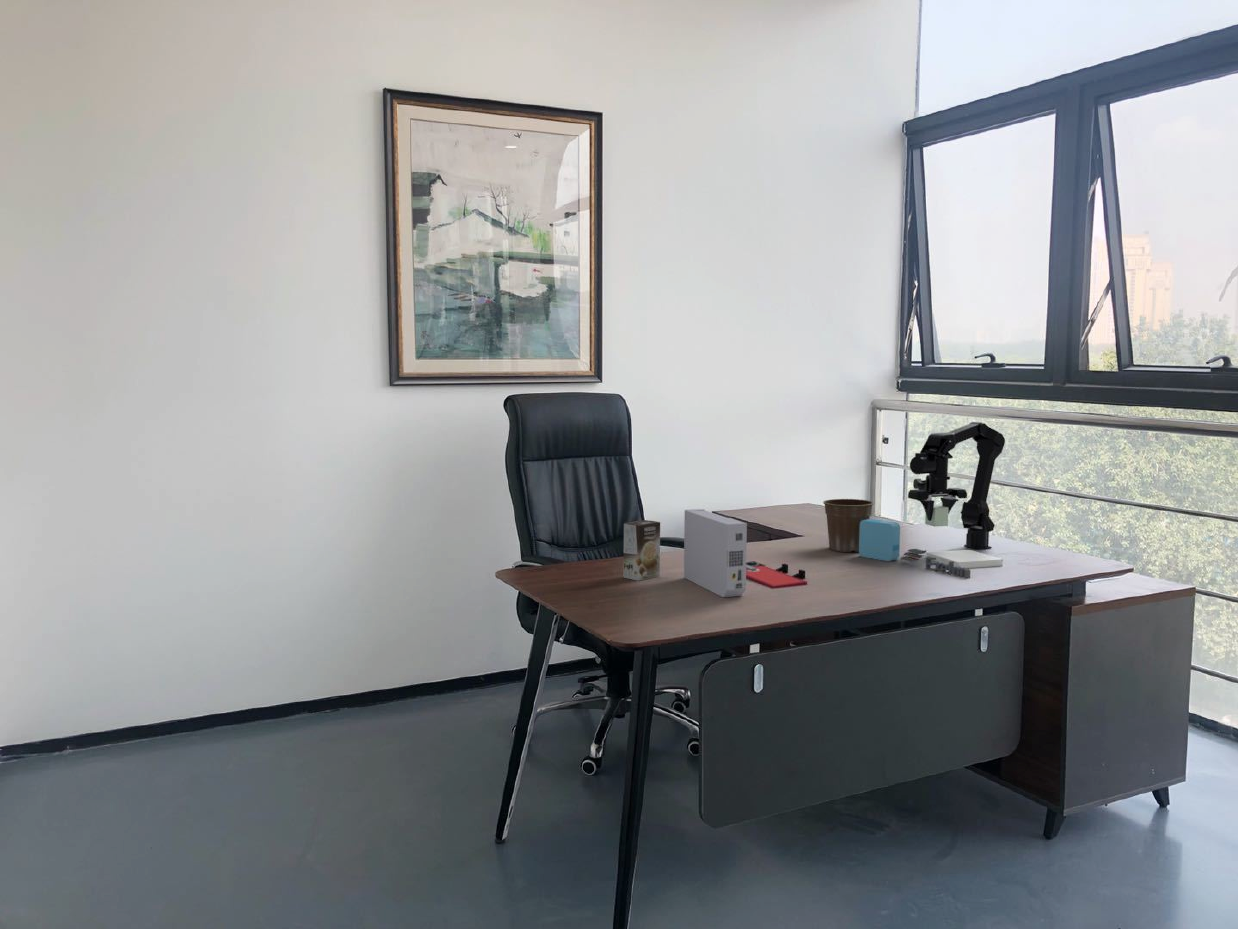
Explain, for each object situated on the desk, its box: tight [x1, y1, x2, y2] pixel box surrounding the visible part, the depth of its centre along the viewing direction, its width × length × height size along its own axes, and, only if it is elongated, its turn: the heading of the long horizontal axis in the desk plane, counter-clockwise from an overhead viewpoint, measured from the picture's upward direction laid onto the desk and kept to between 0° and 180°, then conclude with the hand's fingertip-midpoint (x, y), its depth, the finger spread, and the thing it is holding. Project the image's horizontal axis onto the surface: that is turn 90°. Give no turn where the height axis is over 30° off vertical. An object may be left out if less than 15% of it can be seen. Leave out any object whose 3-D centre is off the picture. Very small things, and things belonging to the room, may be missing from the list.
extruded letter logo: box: [899, 548, 971, 579], centre depth 277 cm, size 25×2×6 cm, turn 31°
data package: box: [858, 518, 901, 562], centre depth 294 cm, size 12×4×12 cm, turn 43°
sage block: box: [924, 504, 949, 527], centre depth 301 cm, size 5×5×6 cm
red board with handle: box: [746, 560, 808, 589], centre depth 270 cm, size 30×3×15 cm
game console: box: [683, 508, 748, 598], centre depth 254 cm, size 6×27×20 cm, turn 20°
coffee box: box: [622, 519, 661, 582], centre depth 267 cm, size 9×6×16 cm
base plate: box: [925, 549, 1004, 569], centre depth 289 cm, size 16×16×2 cm
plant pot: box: [822, 498, 874, 553], centre depth 309 cm, size 16×16×16 cm
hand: (936, 520), depth 301 cm, fingers closed on sage block, 5 cm apart
